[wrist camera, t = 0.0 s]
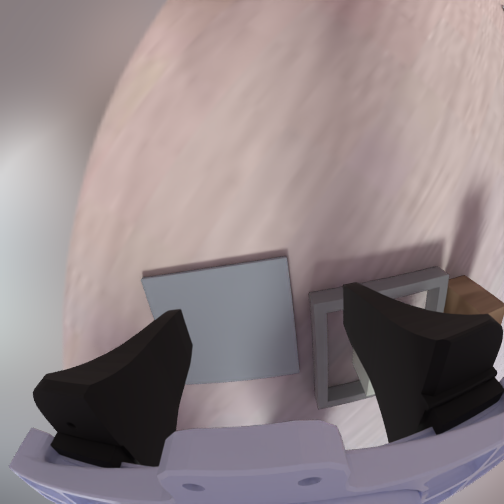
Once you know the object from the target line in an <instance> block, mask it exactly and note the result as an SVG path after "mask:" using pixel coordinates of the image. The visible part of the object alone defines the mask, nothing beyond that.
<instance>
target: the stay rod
mask: <svg viewBox="0 0 504 504" xmlns="http://www.w3.org/2000/svg"><path fill="white" fill-rule="evenodd" d="M443 313H450V314H464V315H472V314H489V315H490V316H491V317H493V318H494V319H495V320H496V321H497V322H498V323H499V324H500V325H501V323H502V319H503V316H504V303H503V302H502V301H500V300H499V299H498V298H496V297H495V296H494V295H492V294H491V293H490V292H488V291H487V290H485V289H484V288H483V287H481V286H480V285H478V284H477V283H475V282H474V281H473V280H471V279H470V278H468V277H467V276H465V275H463V276H460V277H456V278H453V279H449V280H448V288H447V295H446V301H445V307H444V312H443Z"/></svg>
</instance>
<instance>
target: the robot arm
mask: <svg viewBox="0 0 504 504" xmlns="http://www.w3.org/2000/svg"><path fill="white" fill-rule="evenodd" d="M343 324H344V327H345V330H346V332H347V335H348V338H349V341H350V343H351V345H352V347H353V348H354V350H355V352H356V354H357V356H358V358H359V360H360V362H361V364H362V365H363V367H364V369H365V371H366V373H367V375H368V377H369V379H370V382H371V384H372V387H373V390H374V392H375V395H376V398H377V401H378V404H379V408H380V411H381V414H382V418H383V421H384V425H385V429H386V433H387V437H388V442H389V443H388V444H385V445H382V446H378V447H371V448H362V449H353V450H345V447H344V444H343V440H342V436H341V434H340V432H339V430H338V427H337V426H336V425H333V424H330V423H327V422H324V421H321V420H294V421H288V422H280V423H272V424H263V425H253V426H241V427H223V428H193V429H187V430H180V431H176V424H177V417H178V409H179V404H180V400H181V396H182V393H183V389H184V386H185V382H186V379H187V375H188V371H189V368H190V364H191V358H192V349H193V344H192V341H191V338H190V335H189V332H188V329H187V326H186V323H185V320H184V317H183V314H182V310H181V309H176V310H168V311H167V312H165V313H163V314H162V315H161V316H159V317H158V318H157V319H156V320H154V321H153V322H152V323H150V324H149V325H148V326H147V327H145V328H144V329H143V330H142V331H140V332H139V333H138V334H136V335H135V336H133V337H132V338H131V339H129V340H128V341H126V342H125V343H123V344H122V345H120V346H119V347H117V348H115V349H114V350H112V351H110V352H108V353H107V354H104V355H102V356H100V357H98V358H96V359H94V360H92V361H89V362H87V363H84V364H82V365H79V366H76V367H73V368H70V369H66V370H62V371H58V372H54V373H49V374H46V375H45V376H44V377H43V379H42V380H41V381H40V382H39V384H38V385H37V386H36V388H35V389H34V391H33V398H34V401H35V403H36V405H37V407H38V408H39V410H40V411H41V413H42V414H43V415H44V417H45V418H46V419H47V420H48V421H49V423H50V424H51V425H52V426H53V427H54V429H55V430H56V431H57V434H56V436H55V437H53V436H52V435H50V434H49V433H46V432H44V431H41V430H38V429H35V428H31V429H30V431H29V432H28V434H27V436H26V437H25V439H24V441H23V442H22V444H21V446H20V447H19V449H18V451H17V453H16V454H15V456H14V458H13V460H12V462H11V463H10V465H9V468H10V469H11V470H12V471H13V472H14V473H15V474H16V475H18V476H19V477H20V478H21V479H22V480H23V481H25V482H26V483H27V484H28V485H30V486H31V487H32V488H33V489H35V490H36V491H37V492H39V493H40V494H41V495H43V496H44V497H45V498H47V499H48V500H50V501H52V502H54V503H56V504H438V503H440V502H442V501H444V500H446V499H447V498H449V497H451V496H452V495H454V494H455V493H457V492H459V491H461V490H462V489H464V488H465V487H467V486H468V485H470V484H471V483H473V482H474V481H476V480H477V479H479V478H480V477H481V476H483V475H484V474H486V473H487V472H488V471H490V470H491V469H492V468H494V467H495V466H496V465H498V464H499V463H500V462H502V461H503V460H504V377H503V378H502V379H501V380H500V382H498V381H497V379H496V378H495V376H496V375H497V371H496V370H495V368H494V367H493V364H494V362H495V360H496V357H497V354H498V352H499V349H500V347H501V343H502V339H503V329H502V326H501V325H500V324H499V323H498V322H497V321H496V320H495V319H494V318H493V317H491V316H490V315H489V314H472V315H464V314H450V313H442V312H436V311H430V310H426V309H422V308H418V307H415V306H411V305H408V304H405V303H402V302H400V301H397V300H395V299H392V298H390V297H387V296H385V295H383V294H381V293H379V292H377V291H374V290H372V289H370V288H368V287H366V286H364V285H361V284H359V283H351V284H345V285H343Z"/></svg>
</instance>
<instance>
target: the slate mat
mask: <svg viewBox="0 0 504 504" xmlns="http://www.w3.org/2000/svg"><path fill="white" fill-rule="evenodd" d="M141 281H142V285H143V288H144V291H145V294H146V297H147V300H148V303H149V306H150V308H151V311H152V314H153V317H154V320H156V319H157V318H158V317H159V316H161V315H162V314H163V313H165V312H167V311H168V310H176V309H181V310H182V314H183V317H184V320H185V323H186V326H187V329H188V332H189V335H190V338H191V341H192V344H193V349H192V358H191V364H190V368H189V371H188V375H187V379H186V382H185V384H206V383H221V382H233V381H244V380H253V379H261V378H269V377H276V376H283V375H290V374H296V373H299V362H298V352H297V342H296V332H295V322H294V313H293V304H292V296H291V287H290V279H289V271H288V263H287V257H286V256H283V257H277V258H270V259H264V260H257V261H251V262H244V263H238V264H231V265H225V266H218V267H211V268H205V269H198V270H191V271H185V272H178V273H171V274H164V275H157V276H151V277H144V278H142V279H141Z"/></svg>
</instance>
